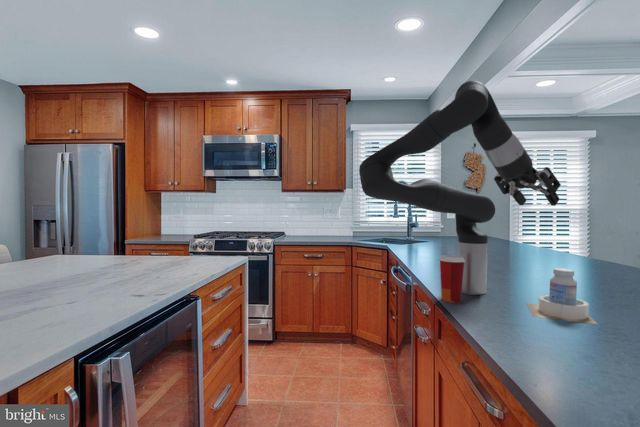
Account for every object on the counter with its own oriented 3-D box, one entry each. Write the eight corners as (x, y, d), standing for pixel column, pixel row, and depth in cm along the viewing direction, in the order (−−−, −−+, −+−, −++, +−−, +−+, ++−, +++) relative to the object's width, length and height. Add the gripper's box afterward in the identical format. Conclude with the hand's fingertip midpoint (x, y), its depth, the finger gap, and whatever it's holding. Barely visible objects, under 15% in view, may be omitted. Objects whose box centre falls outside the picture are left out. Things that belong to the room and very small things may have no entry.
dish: (543, 316, 93) (543, 303, 93) (535, 305, 103) (536, 293, 103) (593, 322, 89) (594, 308, 89) (580, 310, 99) (581, 297, 99)
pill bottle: (543, 306, 99) (545, 267, 98) (563, 306, 99) (564, 267, 99) (560, 313, 92) (562, 271, 92) (581, 313, 93) (583, 271, 93)
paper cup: (464, 299, 111) (465, 255, 111) (463, 305, 104) (464, 258, 104) (439, 296, 114) (439, 253, 114) (436, 301, 107) (437, 256, 107)
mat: (533, 318, 93) (533, 316, 93) (525, 304, 106) (525, 302, 105) (597, 326, 87) (597, 324, 87) (581, 310, 100) (581, 308, 100)
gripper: (475, 168, 89) (506, 212, 94) (526, 162, 76) (559, 214, 81) (491, 149, 91) (521, 193, 96) (543, 139, 78) (575, 192, 82)
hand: (538, 203), depth 88 cm, fingers open, 8 cm apart
